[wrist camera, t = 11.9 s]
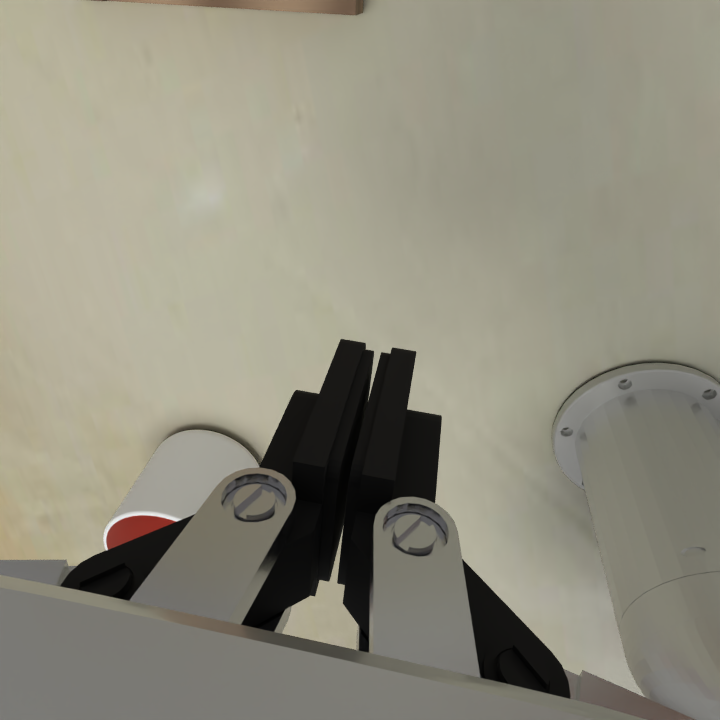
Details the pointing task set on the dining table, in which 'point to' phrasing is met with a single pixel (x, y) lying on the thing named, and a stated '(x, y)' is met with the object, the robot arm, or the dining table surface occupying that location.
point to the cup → (176, 483)
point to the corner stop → (272, 5)
